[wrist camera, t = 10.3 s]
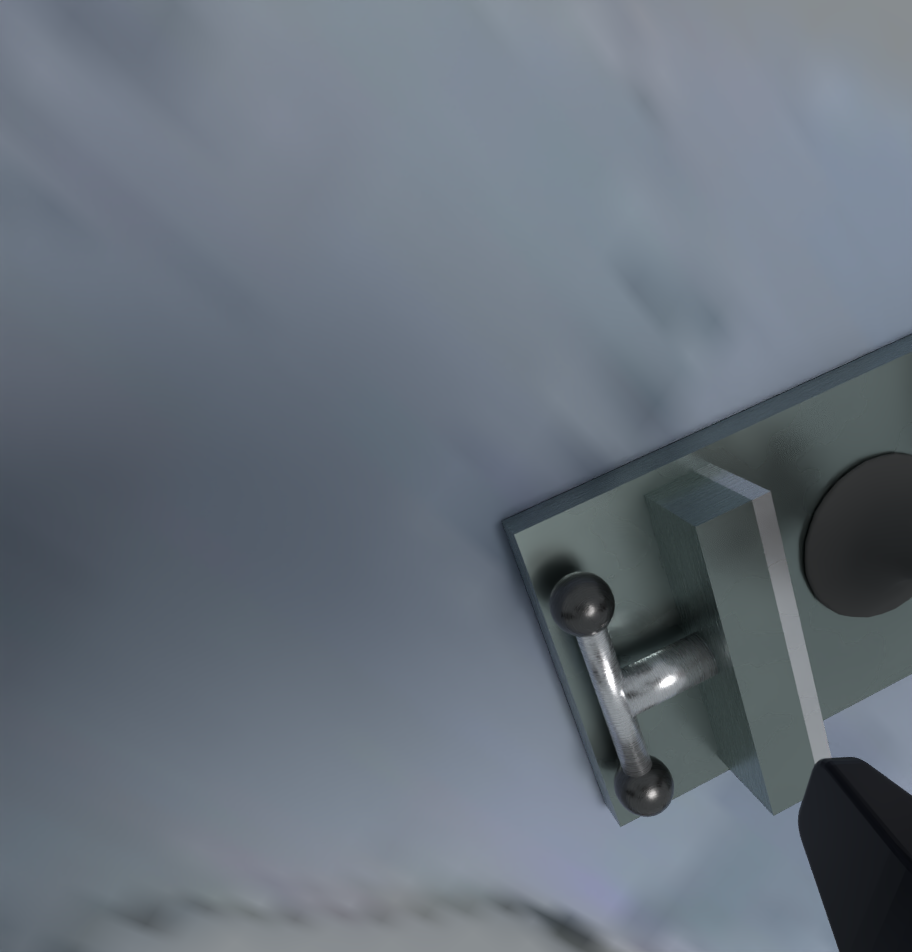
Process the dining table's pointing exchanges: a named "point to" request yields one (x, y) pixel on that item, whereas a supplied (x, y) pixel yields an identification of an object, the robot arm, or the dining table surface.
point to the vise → (717, 595)
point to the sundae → (864, 539)
